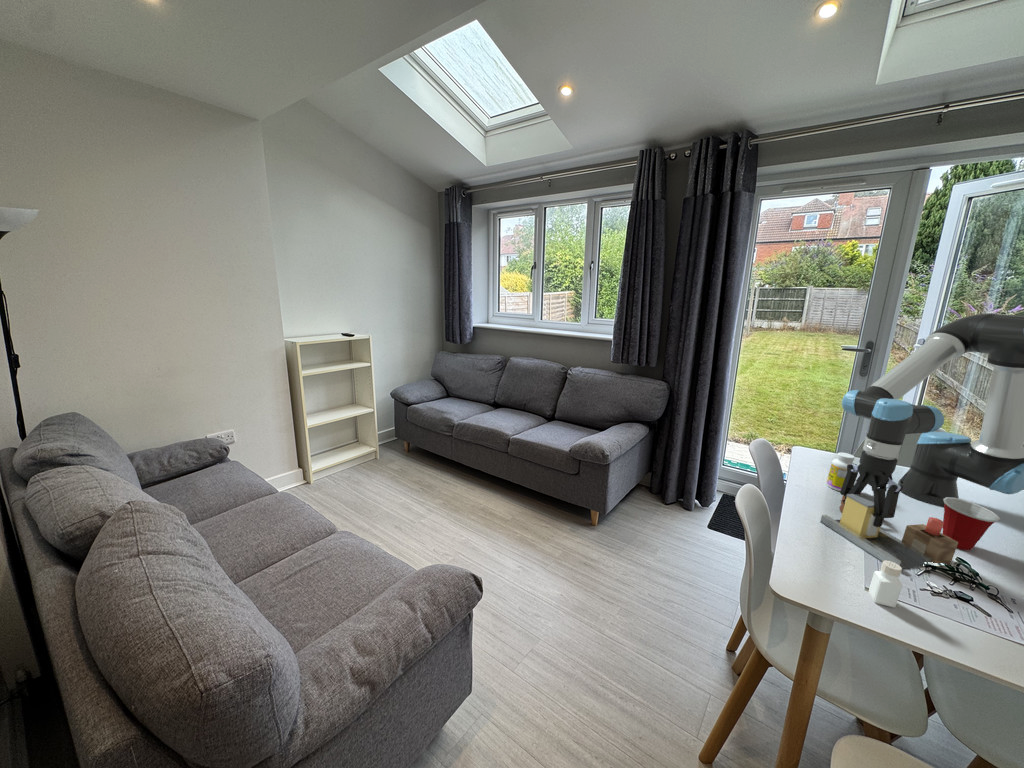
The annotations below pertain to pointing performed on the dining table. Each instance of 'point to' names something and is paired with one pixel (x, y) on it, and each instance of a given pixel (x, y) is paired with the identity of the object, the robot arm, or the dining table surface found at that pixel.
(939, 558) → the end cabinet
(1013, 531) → the dining table surface
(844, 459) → the supplement bottle
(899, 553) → the track
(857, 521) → the carriage
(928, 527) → the ball
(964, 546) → the plastic cup
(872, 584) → the white pill bottle
